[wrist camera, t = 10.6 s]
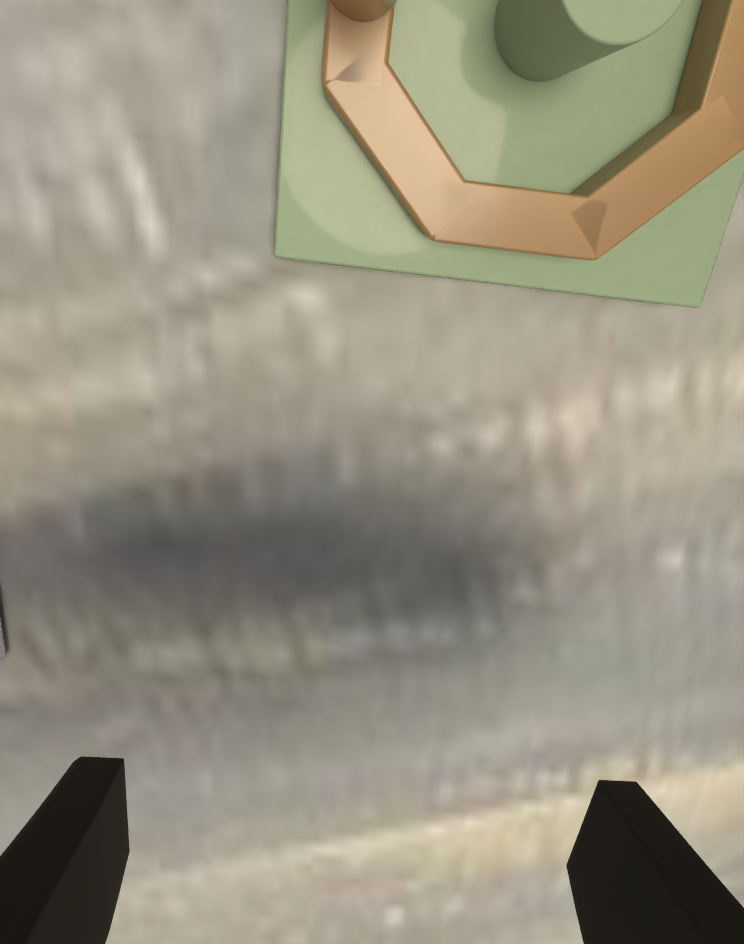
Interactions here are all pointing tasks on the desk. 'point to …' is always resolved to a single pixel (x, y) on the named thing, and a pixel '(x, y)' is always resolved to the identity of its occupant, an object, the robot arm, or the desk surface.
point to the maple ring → (522, 209)
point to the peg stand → (504, 139)
